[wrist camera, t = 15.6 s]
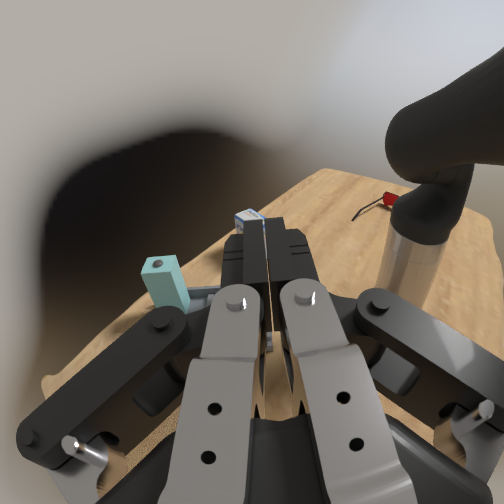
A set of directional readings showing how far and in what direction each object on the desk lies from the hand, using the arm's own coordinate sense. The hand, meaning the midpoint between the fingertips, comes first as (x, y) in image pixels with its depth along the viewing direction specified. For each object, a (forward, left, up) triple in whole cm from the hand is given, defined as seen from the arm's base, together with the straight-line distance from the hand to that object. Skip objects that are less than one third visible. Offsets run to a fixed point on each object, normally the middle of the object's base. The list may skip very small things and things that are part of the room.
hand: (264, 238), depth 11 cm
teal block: (+3, -28, -28) cm, 40 cm away
